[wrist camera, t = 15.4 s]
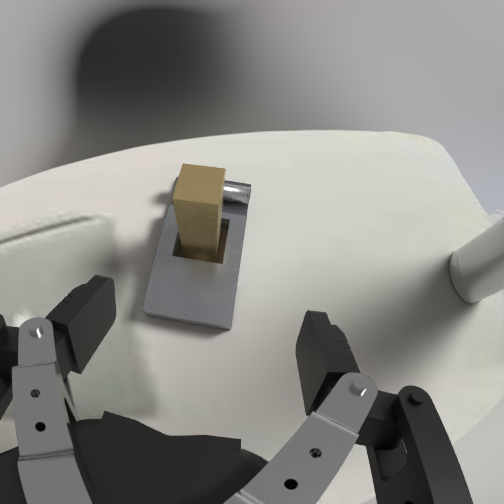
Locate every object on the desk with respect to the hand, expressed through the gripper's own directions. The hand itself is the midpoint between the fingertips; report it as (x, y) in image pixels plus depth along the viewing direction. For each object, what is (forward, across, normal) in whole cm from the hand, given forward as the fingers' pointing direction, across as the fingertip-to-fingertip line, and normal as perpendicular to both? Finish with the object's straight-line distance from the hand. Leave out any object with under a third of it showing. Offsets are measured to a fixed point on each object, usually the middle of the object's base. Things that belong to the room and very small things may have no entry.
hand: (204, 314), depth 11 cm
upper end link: (+19, +3, +7) cm, 21 cm away
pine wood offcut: (+21, +3, +6) cm, 22 cm away
